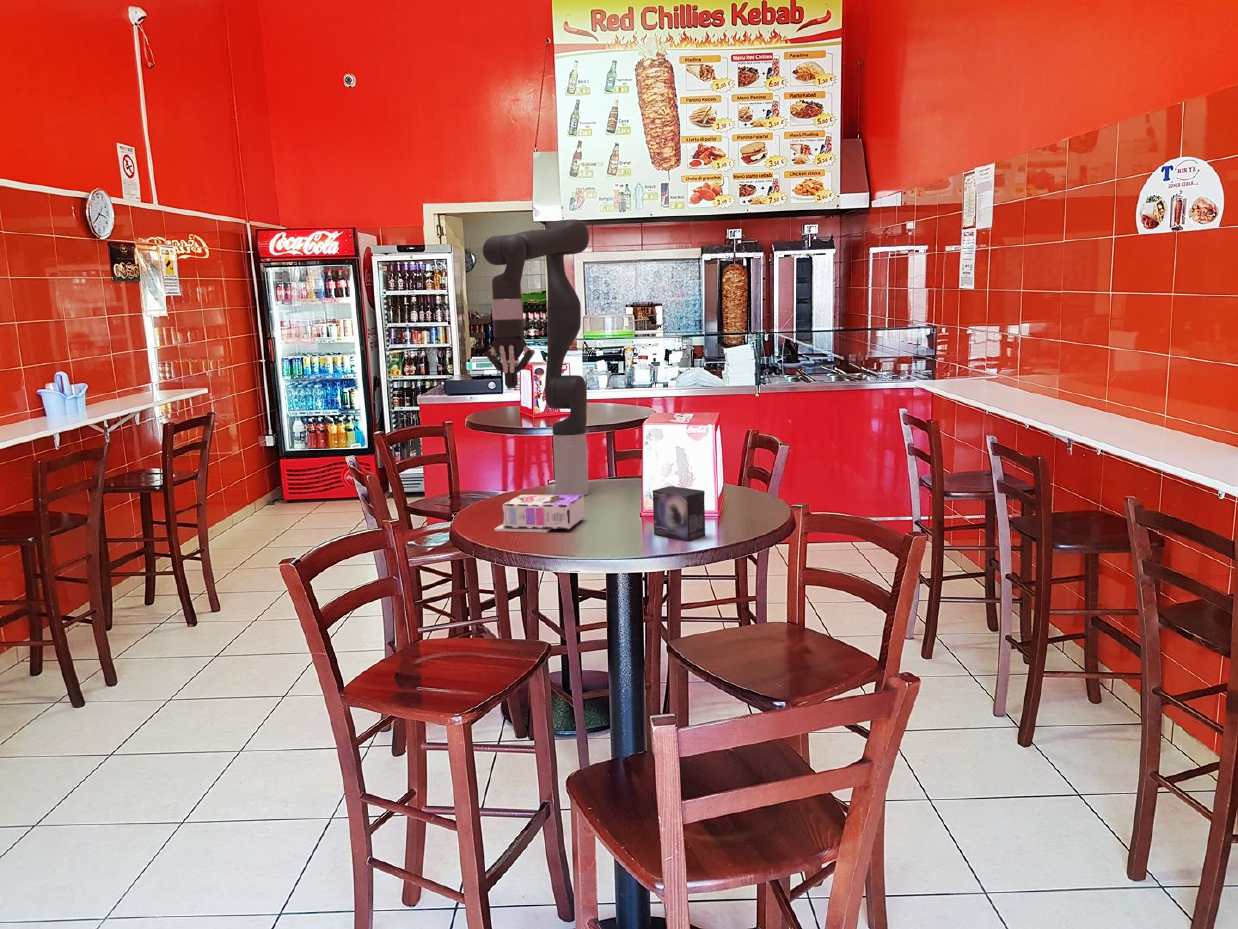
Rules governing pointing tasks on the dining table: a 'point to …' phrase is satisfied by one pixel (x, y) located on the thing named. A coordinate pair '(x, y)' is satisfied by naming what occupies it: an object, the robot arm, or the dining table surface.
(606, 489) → the dining table surface
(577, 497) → the candy box
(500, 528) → the mat
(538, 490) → the dining table surface
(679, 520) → the small box
